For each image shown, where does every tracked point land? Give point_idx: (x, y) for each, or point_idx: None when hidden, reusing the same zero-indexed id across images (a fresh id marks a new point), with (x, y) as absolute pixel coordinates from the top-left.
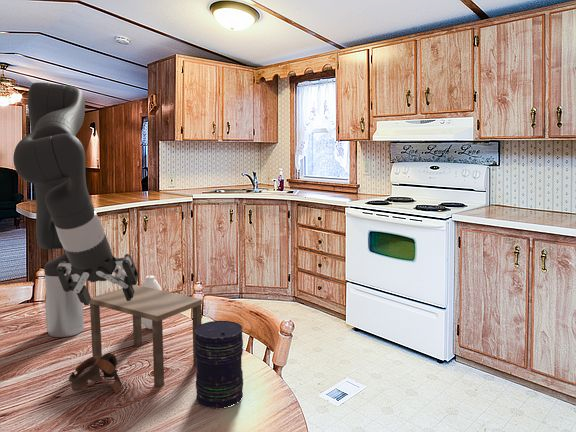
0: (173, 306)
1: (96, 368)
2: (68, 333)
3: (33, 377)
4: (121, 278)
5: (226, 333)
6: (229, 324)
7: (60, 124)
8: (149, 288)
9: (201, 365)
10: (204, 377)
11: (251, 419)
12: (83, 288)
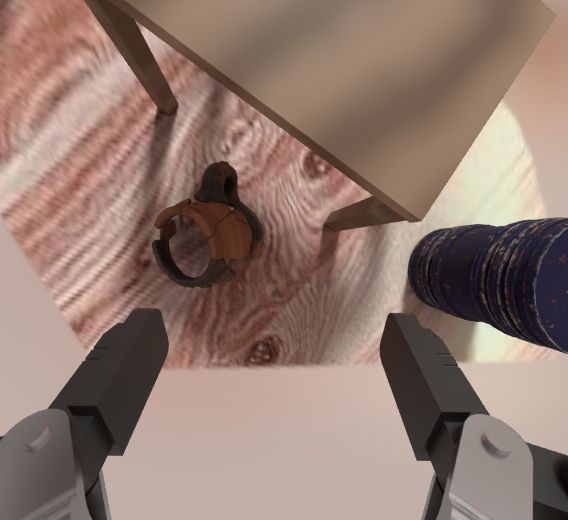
0: (460, 104)
1: (218, 265)
2: None
3: (46, 175)
4: (449, 475)
5: None
6: None
7: None
8: None
9: (476, 314)
10: (463, 313)
11: (497, 340)
12: (102, 427)
